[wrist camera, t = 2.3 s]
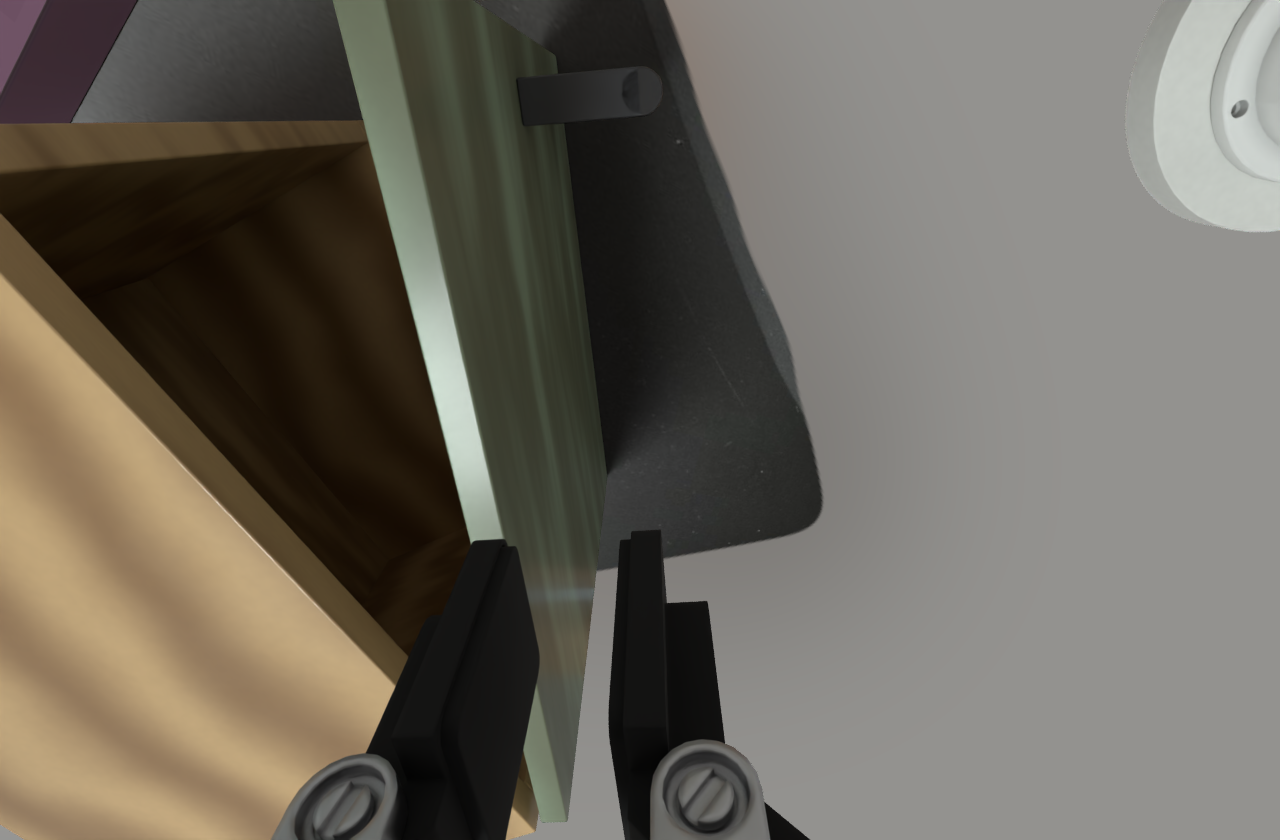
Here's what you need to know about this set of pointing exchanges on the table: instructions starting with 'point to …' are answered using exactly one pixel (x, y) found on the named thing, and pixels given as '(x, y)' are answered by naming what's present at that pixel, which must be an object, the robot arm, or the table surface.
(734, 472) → the table surface
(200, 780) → the cupboard
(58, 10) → the book
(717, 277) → the table surface
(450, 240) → the door
